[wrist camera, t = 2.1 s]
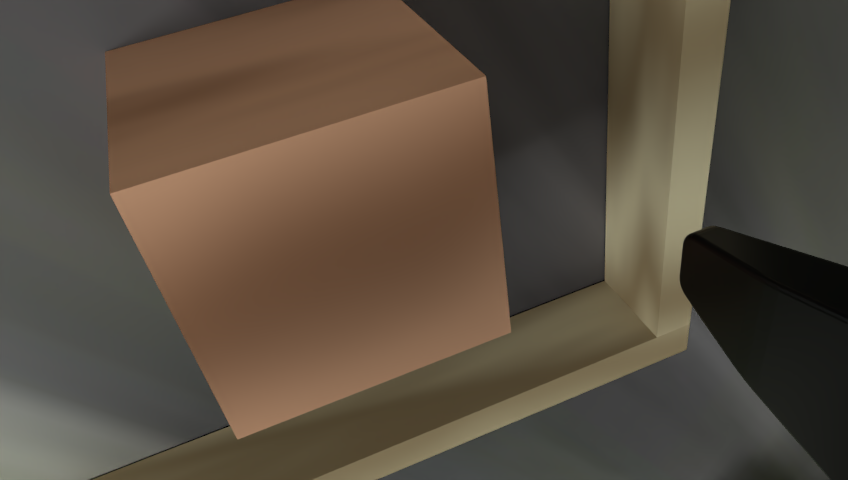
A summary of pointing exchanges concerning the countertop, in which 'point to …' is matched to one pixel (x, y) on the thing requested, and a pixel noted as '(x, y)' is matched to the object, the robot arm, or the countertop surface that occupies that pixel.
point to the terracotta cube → (310, 198)
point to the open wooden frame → (549, 323)
